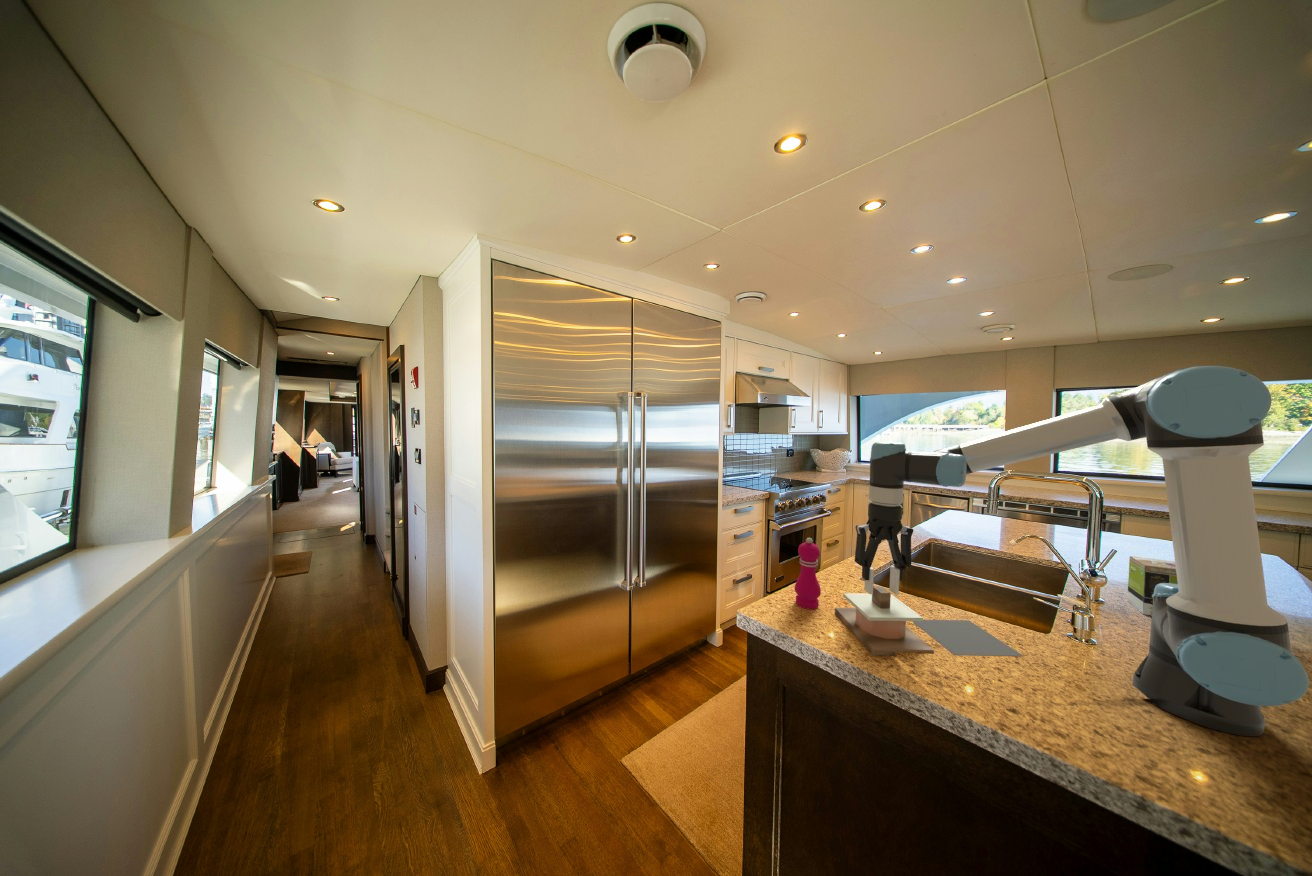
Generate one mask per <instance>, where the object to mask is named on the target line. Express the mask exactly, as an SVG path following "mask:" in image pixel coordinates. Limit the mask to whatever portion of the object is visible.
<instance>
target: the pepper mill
mask: <svg viewBox="0 0 1312 876" xmlns="http://www.w3.org/2000/svg"><path fill="white" fill-rule="evenodd" d="M813 541H814V540H813V538H811V537H807V538H806V539H805V542H803V543H800V544H799V546H798V549H797V550H798V551H797V553H798V555H799V557H800V558H799V564H800V573H799V575H798V577H797V579H796V581H795V584H794V592H795V593H796V596H795V603H796V605H797V606H798V607H799V608H804V609H807V610H815V609H817V608H819V605H820V604H819V603H820V602H819V601H820V600H819V599H818V598H819V597H820V596H821V594H822V591H821V586H820V583H819V581H818V578H817V575H816V573H817V572H816V571H817V567H818V565H819V563H818V562H819V561H818V559H819V557H820V556H821V550H820V548H819V546H817V545H816V544H815V543H813Z"/></svg>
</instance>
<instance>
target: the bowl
mask: <svg viewBox="0 0 1312 876" xmlns="http://www.w3.org/2000/svg"><path fill="white" fill-rule="evenodd" d="M906 623H907V621H869V620H868V619H867V618H866V617H865V616H864V615H863V614H862V613H861V612H860V611H859V610H857V609H856V625H857V626H858V627H859V628H860V629H861V630H863V631H865V632H867V633H869V634H871V635H874V636H878V637H882V638H886V639H899V638H901V637H903V636H905V627H907V626H906V625H907V624H906Z"/></svg>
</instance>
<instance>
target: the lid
mask: <svg viewBox="0 0 1312 876" xmlns="http://www.w3.org/2000/svg"><path fill="white" fill-rule="evenodd" d="M843 598H845V599H846V600H847V601H848V602H849V603H850V605H852V606H853V608H856V609H857V610H859V611H860V612H861V613H862V614H863V615H864V616H865V617H866V618H867V619H868V620H869V621H906V622H912V621H923V620H924V617H922V616H921V615H920V614H919V613H917V612H916V611H914V610H913V609H912V608H910V607H909V606H908V605H906V604H905V603H904V602H902V601H901V600H900V599H899V598H897V597H896V596H894V594H892V592H891V591H890V590H889V591H888V590H887V589H886V588H885V587H884V586H881V585H875V586H874V585H873V594H869V593H858V592H857V593H853V592H852V593H850V592H849V593H848V592H845V593H844V592H843Z"/></svg>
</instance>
